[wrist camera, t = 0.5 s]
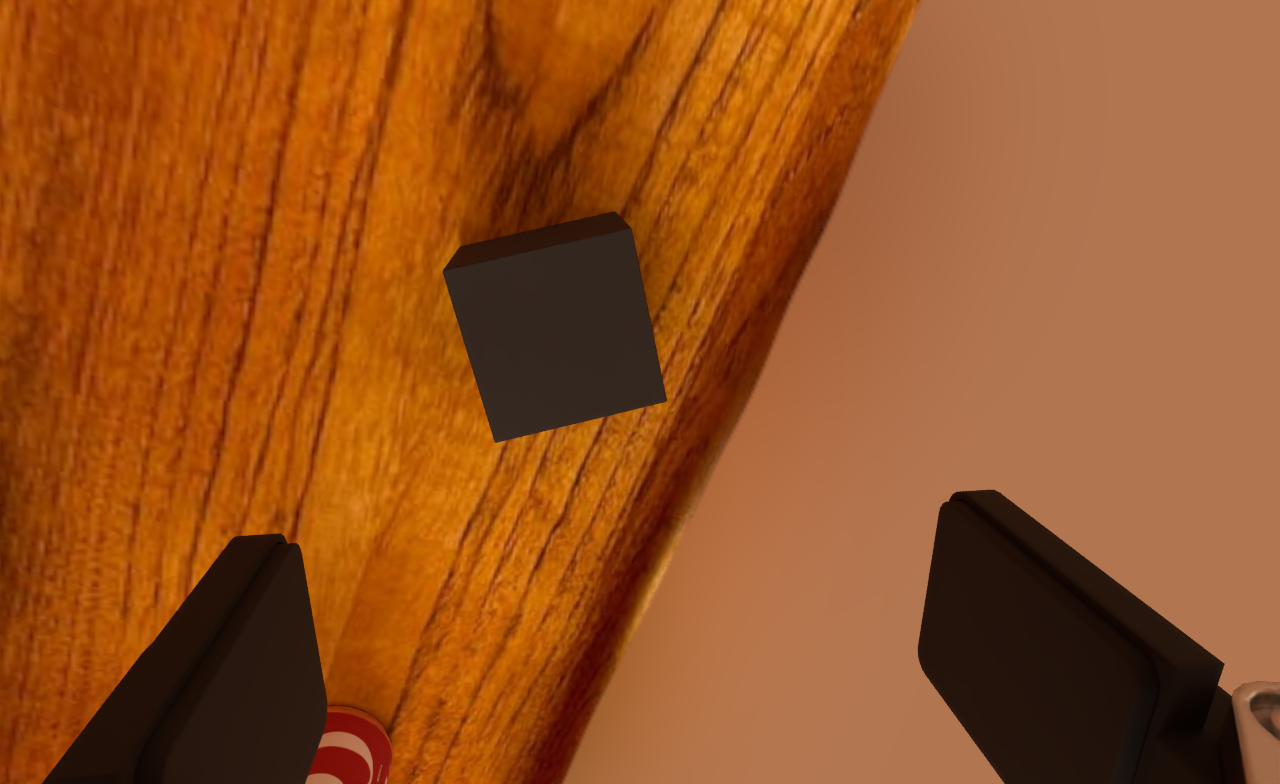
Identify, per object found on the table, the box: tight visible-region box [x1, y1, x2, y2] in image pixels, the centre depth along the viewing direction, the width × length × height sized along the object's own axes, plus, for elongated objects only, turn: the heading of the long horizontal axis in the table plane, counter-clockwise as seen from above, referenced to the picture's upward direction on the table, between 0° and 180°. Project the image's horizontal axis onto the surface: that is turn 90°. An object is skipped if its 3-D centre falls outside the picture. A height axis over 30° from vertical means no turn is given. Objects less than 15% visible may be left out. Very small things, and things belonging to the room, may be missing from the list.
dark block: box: [443, 212, 667, 443], centre depth 26 cm, size 6×6×5 cm
